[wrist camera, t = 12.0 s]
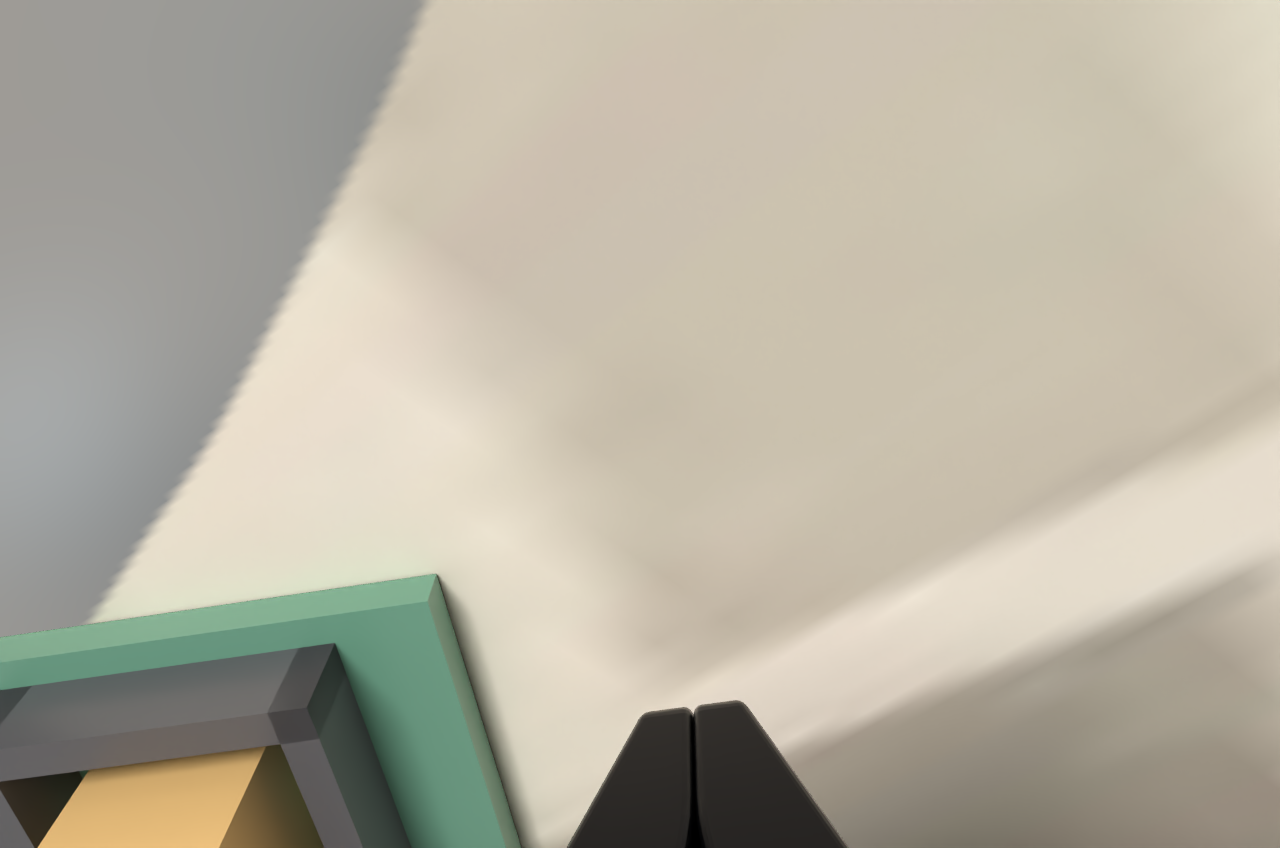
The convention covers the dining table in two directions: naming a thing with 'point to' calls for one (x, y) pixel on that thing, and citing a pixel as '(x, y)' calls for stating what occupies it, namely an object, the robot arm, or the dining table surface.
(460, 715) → the socket board
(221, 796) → the plug
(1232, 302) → the dining table surface
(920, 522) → the dining table surface
